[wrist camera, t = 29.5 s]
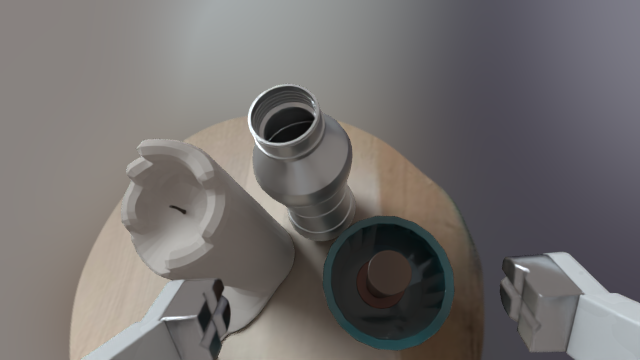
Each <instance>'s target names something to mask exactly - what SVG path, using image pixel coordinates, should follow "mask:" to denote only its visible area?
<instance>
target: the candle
mask: <svg viewBox="0 0 640 360" xmlns="http://www.w3.org/2000/svg"><path fill="white" fill-rule="evenodd" d="M137 151H138V152H139V154H140V155H141V156H142V157H140V158H138V159H136V160H135V161H134V162H132V163H131V164H129V165H128V167H127V170H126V173H127V175H128V177H129V178H130V179H131V183H130V185H129V187H128V189H127V191H126V193H125V195H124V197H123V201H122V207H121V217H122V223H123V224H124V226H125V227H126V229H127V230H128V231H129V232H130V234H131V240H132V242H133V244H134V247H135V249H136V252H137V253H138V255H139V256H140V258H141V259H142V261H143V262H144V263H145V264H146V265H147V266H148V267H149V268H150V269H151V270H152V271H153V272H154V273H156V274H157V275H159V276H161V277H164V278H167V279H170V280H187V279H202V278H220V279H222V282H223V285H224V288H225V289H224V291H223V293H222V295H223V296H224V297H226V298H227V299H228V300H229V304H230V309H231V319H230V325H229V328H228V331H227V333H226V334H225V335H224V336H222V337H221V338H220V341H222V340H223V339H224V338H225V337H226V336H227V335H228V334H229V333H232V332H235V331H237V330H239V329H241V328H243V327H245V326H246V325H247V324H248V323H249V322H251V321H252V320H253V319H254V318H255V317H256V316H257V315H258V314H259V313H260V311H261V310H262V309H263V307H264V306H265V305H266V303H267V302H268V301H269V299H270V298H271V296H272V295H273V294H274V292H275V291H276V289H277V288H278V286H279V285H280V284H281V282H282V281H283V280H284V279H285V278H286V277H287V275H288V274H289V272H290V270H291V268H292V265H293V261H294V245H293V242H292V239H291V237H290V236H289V234H288V233H287V231H286V230H285V229H284V228H283V227H282V226H281V225H280V224H279V223H278V222H277V221H276V220H275V219H274V218H273V217H272V216H271V215H270V214H269V213H268V212H267V211H266V210H265V209H264V208H263V207H262V206H261V205H260V204H259V203H258V202H257V201H256V200H255V199H254V198H253V197H251V196H250V195H249V194H248V193H247V192H246V191H245V190H244V189H243V188H242V187H241V186H240V185H239V184H238V183H237V182H235V180H234V179H233V178H232V177H231V176H230V175H229V174H228V173H227V172H226V171H225V170H224V169H222V168H221V167H220V166H219V165H218V164H217V163H216V162H215V161H214V160H213V159H212V158H211V157H210V156H209V155H208V154H207V153H205V152H204V151H203V150H202V149H200V148H198V147H196V146H194V145H191V144H188V143H185V142H182V141H176V140H166V139H150V140H143V141H142V143H141V144H140V145H139V146H138V148H137Z"/></svg>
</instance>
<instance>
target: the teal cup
mask: <svg viewBox="0 0 640 360" xmlns="http://www.w3.org/2000/svg"><path fill="white" fill-rule="evenodd" d="M385 250H392V251H396V252H398V253H400V254H402V255H403V256H404V257H405V258H406V259H407V260H408V262H409V264H410V266H411V270H412V278H411V281H410V284H409V285H408V287H407V288H406V289H405V291H404V294H403V296H402V298H401V300H400V301H399V302H398V303H397V304H395V305H394V306H392V307H390V308H385V309H379V308H374V307H371V306H369V305H368V304H366V303H365V302H364V301H363V300H362V298H361V297H360V295H359V293H358V290H357V284H356V280H357V275H358V272H359V270H360V269H361V267H362V266H363V265H364V264H365V263H367V262H368V261H370V260H371V259H372V258H373V256H374V255H376V254H377V253H379V252H381V251H385ZM323 289H324V293H325V297H326V301H327V305H328V306H329V309H330V311H331V312H332V314H333V316H334V317H335V319H336V321H337V322H338V324H339V325H340V326H341V327H342V328H343V329H344V330H345V331H346V332H348V333H349V334H350V335H351V336H352V337H353V338H354V339H356V340H357V341H359V342H362V343H364V344H366V345H369V346H371V347H373V348H376V349H383V350H397V351H398V350H403V349H407V348H410V347H414V346H417V345H420V344H422V343H423V342H424V341H426V340H427V339H429V338H430V337H431V336H433V335H434V334H435V333H437V332H438V331H439V329H440V328H441V326H442V324H443V323H444V321H445V320H446V318H447V317H448V315H449V313H450V310H451V306H452V301H453V297H454V292H455V291H454V279H453V271H452V268H451V265H450V263H449V260H448V258H447V255H446V253H445V251H444V249H443V248H442V247H441V246H440V244H439V243H438V242H437V241H436V239H435V238H434V237H433V236H432V235H431V234H430V233H429V232H427V231H426V230H424V229H423V228H422V227H420V226H419V225H417V224H416V223H414V222H411V221H408V220H405V219H402V218H399V217H395V216H374V217H371V218H367V219H364V220H361V221H358V222H356V223H355V224H353V225H352V226H350V227H349V228H347V229H346V230H344V231H343V232H342V233H341V234H340V236H339V237H338V238H337V239H336V241H335V242H334V243H333V245H332V246H331V248H330V250H329V253H328V255H327V258H326V261H325V264H324V271H323Z"/></svg>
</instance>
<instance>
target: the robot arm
mask: <svg viewBox="0 0 640 360" xmlns="http://www.w3.org/2000/svg"><path fill="white" fill-rule="evenodd" d="M502 270H503V271H504V273H505V274H506V277H505V278H504V279H503V280H502V281H501V283H500V295H501V300H502V304H503V306H504V309H505V311H506V312H507V314H508V316H509V317H510V318H512V319H513V320H515V321H517V322H518V327H517V331H518V333H519V335H520V336H521V338H522V340H523V341H524V343H525V344H526V346H527V348H528V349H529V351H530V352H564V351H565V352H567V354H568V355H570V356H571V357H572V358H573V359H575V360H640V303H638V302H636V301H634V300H631V299H629V298H627V297H625V296H622V295H620V294H618V293H612V294H611V293H609V292H608V291H607V290H606V289H605V288H604V287H603V286H602V285H601V284H600V283H599V282H598V281H597V280H596V279H595V278H594V277H592V275H590V274H589V273H588V272H587V271H586V270H585V269H584V268H583V267H582V266H581V265H580V264H579V263H578V262H577V261H576V260H575V259H574V258H573V257H572V256H571V255H570V254H568V253H566V252H554V253H544V254H540V255H539V254H538V255H525V256H512V257H505V258H504V260H503V265H502ZM224 289H225V288H224V285H223V282H222V279H220V278H202V279H187V280H172V281H170V282H168V283H167V284H166V285H165V287H164V288H163V290H162V291H161V293H160V294H159V296H158V297H157V299H156V300H155V301H154V303H153V304H152V306H151V307H150V309H149V310H148V312H147V313H146V315H145V316H144V318H143V319H142V321H141V322H135V323H134V324H132V325H131V326H129V327H128V328H126V329H125V330H123V331H122V332H120V333H119V334H117V335H116V336H114V337H113V338H112V339H110V340H109V341H107V342H106V343H104V344H103V345H101V346H100V347H98V348H97V349H95V350H94V351H92V352H91V353H89V354H88V355H87V356H85V357H84V358H82V359H81V360H217V358H218V355H219V353H220V350H221V347H222V344H221V341H220V338H221V337H222V336H224V335H225V334H226V333H227V331H228V328H229V325H230V319H231V309H230V304H229V300H228V299H227V298H226V297H224V296H223V295H222V293H223V291H224Z"/></svg>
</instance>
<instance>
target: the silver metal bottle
mask: <svg viewBox="0 0 640 360" xmlns="http://www.w3.org/2000/svg"><path fill="white" fill-rule="evenodd" d="M248 125H249V129H250V131H251V134H252V135H253V136H254V138H255V141H256V142H255V146H254V149H253V169H254V174H255V177H256V180H257V182H258V183H259V185H260V186H261V188H262V189H263V190H264V191H265V192H266V193H267V194H268V195H269V196H271V197H272V198H273V199H275V200H276V201H278V202H280V203H282V204H283V205H285V206H286V207H287V210H288V215H289V219H290V222H291V224H292V226H293V227H294V229H295V230H296V231H297V232H298V233H299V234H300V235H302V236H304V237H305V238H308V239H311V240H316V241H327V240H331V239H334V238H336V237H338V236H339V235H340V234H341V233H342V232H343V231H344V230H346V229H347V228H348V227H349V225H350V224H351V222H352V220H353V218H354V215H355V209H356V205H355V199H354V196H353V194H352V192H351V190H350V188H349V186H348V185H347V179H348V176H349V173H350V170H351V164H352V146H351V142H350V139H349V137H348V135H347V133H346V132H345V130H344V129H343V128H342V127H341V126H340V124H339V123H338V122H337V121H336V120H335V119H333V118H332V117H331V116H329V115H327V114H325V113H323V112H322V111H321V110H320V107H319V103H318V102H317V100H316V98H315V96H314V95H313V94H312V93H311V92H310V91H309V90H308V89H306V88H304V87H302V86H300V85H295V84H281V85H277V86H274V87H272V88H269V89H267V90H266V91H264V92H263V93H262V94H260V95H259V96H258V97H257V99H256V100H255V101H254V102H253V104H252V105H251V107H250V110H249V113H248Z"/></svg>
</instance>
